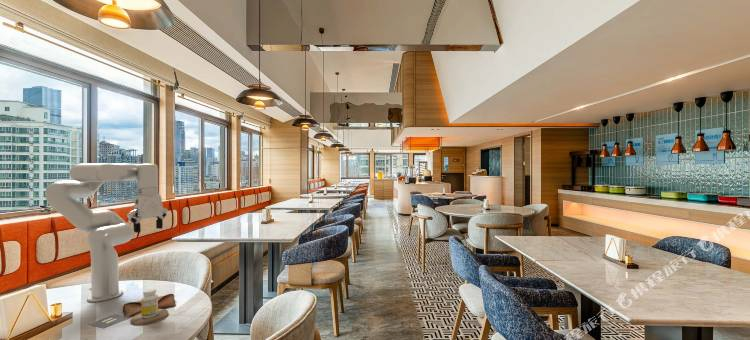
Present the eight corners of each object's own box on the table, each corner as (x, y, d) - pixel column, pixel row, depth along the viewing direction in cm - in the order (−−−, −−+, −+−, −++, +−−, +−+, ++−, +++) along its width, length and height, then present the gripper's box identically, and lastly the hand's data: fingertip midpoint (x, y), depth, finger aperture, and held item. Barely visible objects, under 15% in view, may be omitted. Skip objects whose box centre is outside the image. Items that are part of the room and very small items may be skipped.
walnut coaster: (122, 322, 122) (122, 320, 122) (154, 309, 133) (154, 307, 133) (144, 327, 118) (144, 325, 118) (175, 313, 129) (175, 311, 129)
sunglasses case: (124, 318, 124) (123, 301, 127) (122, 323, 129) (122, 305, 131) (178, 305, 136) (176, 289, 139) (175, 309, 141) (173, 294, 143)
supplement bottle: (153, 318, 123) (152, 292, 123) (138, 318, 123) (137, 293, 123) (161, 311, 128) (160, 287, 128) (146, 312, 128) (146, 288, 128)
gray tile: (87, 324, 120) (87, 323, 120) (114, 314, 129) (114, 313, 129) (103, 328, 117) (103, 327, 117) (129, 317, 126) (129, 317, 126)
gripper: (133, 193, 135) (133, 234, 135) (172, 190, 151) (173, 227, 151) (121, 193, 137) (122, 233, 137) (161, 190, 154) (161, 226, 154)
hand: (148, 230), depth 144 cm, fingers open, 9 cm apart
